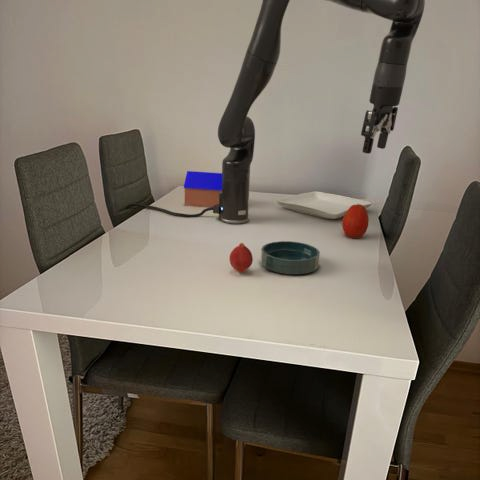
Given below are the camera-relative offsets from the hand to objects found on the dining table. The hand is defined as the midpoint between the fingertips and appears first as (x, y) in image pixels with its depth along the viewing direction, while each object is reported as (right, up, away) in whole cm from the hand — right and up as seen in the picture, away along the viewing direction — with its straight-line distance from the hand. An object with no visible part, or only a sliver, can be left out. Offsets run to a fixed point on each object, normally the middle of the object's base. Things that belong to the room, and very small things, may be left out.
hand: (373, 150), depth 123 cm
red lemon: (-36, -34, -8) cm, 50 cm away
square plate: (-4, -4, +51) cm, 51 cm away
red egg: (0, -19, +23) cm, 30 cm away
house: (-47, -1, +54) cm, 72 cm away
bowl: (-23, -31, -2) cm, 39 cm away
